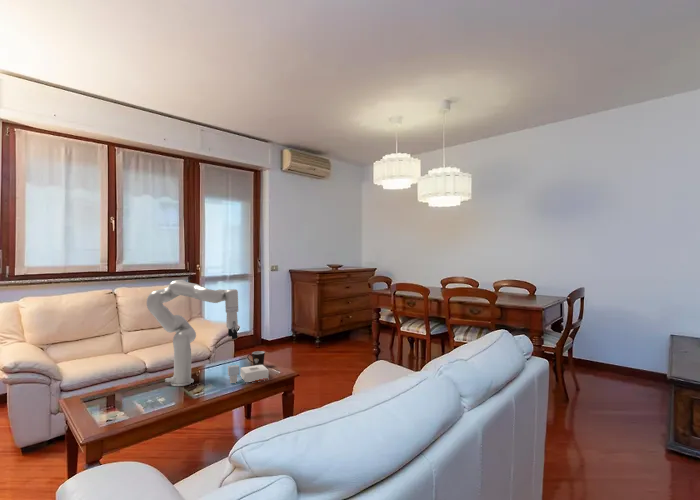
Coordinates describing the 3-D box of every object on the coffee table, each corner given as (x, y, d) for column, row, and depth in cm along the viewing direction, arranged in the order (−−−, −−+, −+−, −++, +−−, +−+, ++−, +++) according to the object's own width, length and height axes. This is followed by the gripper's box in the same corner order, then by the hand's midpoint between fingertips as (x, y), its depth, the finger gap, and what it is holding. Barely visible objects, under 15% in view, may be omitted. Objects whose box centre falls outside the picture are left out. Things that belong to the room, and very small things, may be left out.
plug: (228, 384, 215) (229, 367, 215) (227, 382, 218) (227, 366, 219) (239, 382, 218) (239, 366, 218) (237, 381, 221) (237, 364, 222)
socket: (245, 383, 217) (245, 373, 217) (240, 377, 229) (240, 367, 229) (268, 379, 223) (268, 369, 223) (262, 373, 236) (262, 364, 236)
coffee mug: (267, 366, 252) (267, 352, 253) (258, 369, 245) (258, 354, 245) (255, 364, 258) (255, 350, 259) (246, 367, 251) (246, 352, 252)
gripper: (222, 309, 228) (223, 336, 227) (228, 311, 213) (229, 340, 212) (234, 307, 232) (235, 334, 231) (241, 310, 217) (242, 338, 216)
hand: (232, 337), depth 222 cm, fingers open, 9 cm apart
